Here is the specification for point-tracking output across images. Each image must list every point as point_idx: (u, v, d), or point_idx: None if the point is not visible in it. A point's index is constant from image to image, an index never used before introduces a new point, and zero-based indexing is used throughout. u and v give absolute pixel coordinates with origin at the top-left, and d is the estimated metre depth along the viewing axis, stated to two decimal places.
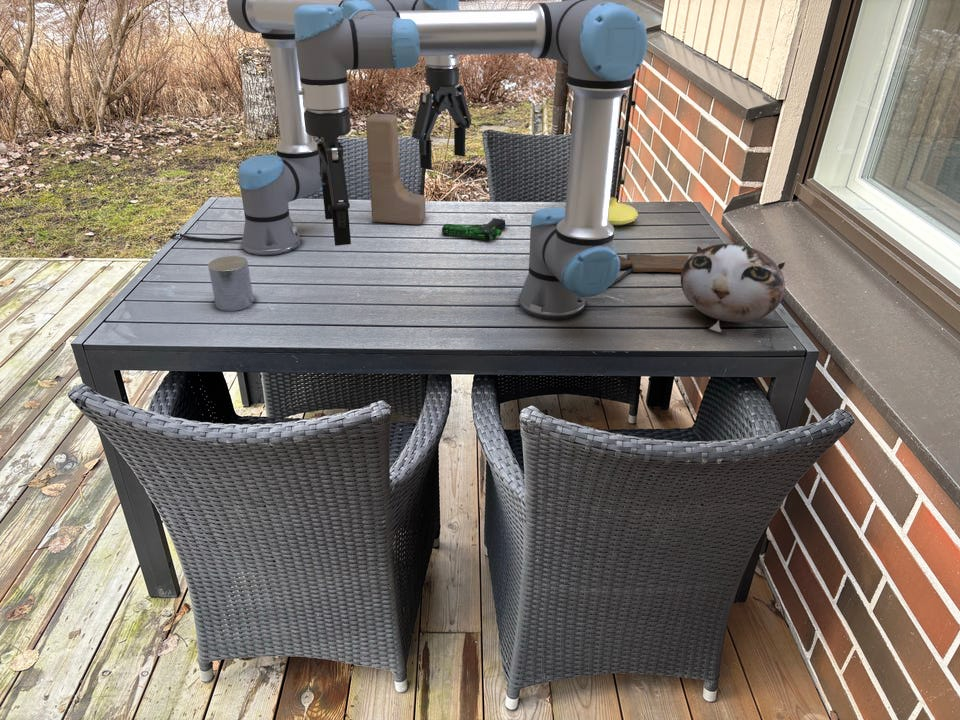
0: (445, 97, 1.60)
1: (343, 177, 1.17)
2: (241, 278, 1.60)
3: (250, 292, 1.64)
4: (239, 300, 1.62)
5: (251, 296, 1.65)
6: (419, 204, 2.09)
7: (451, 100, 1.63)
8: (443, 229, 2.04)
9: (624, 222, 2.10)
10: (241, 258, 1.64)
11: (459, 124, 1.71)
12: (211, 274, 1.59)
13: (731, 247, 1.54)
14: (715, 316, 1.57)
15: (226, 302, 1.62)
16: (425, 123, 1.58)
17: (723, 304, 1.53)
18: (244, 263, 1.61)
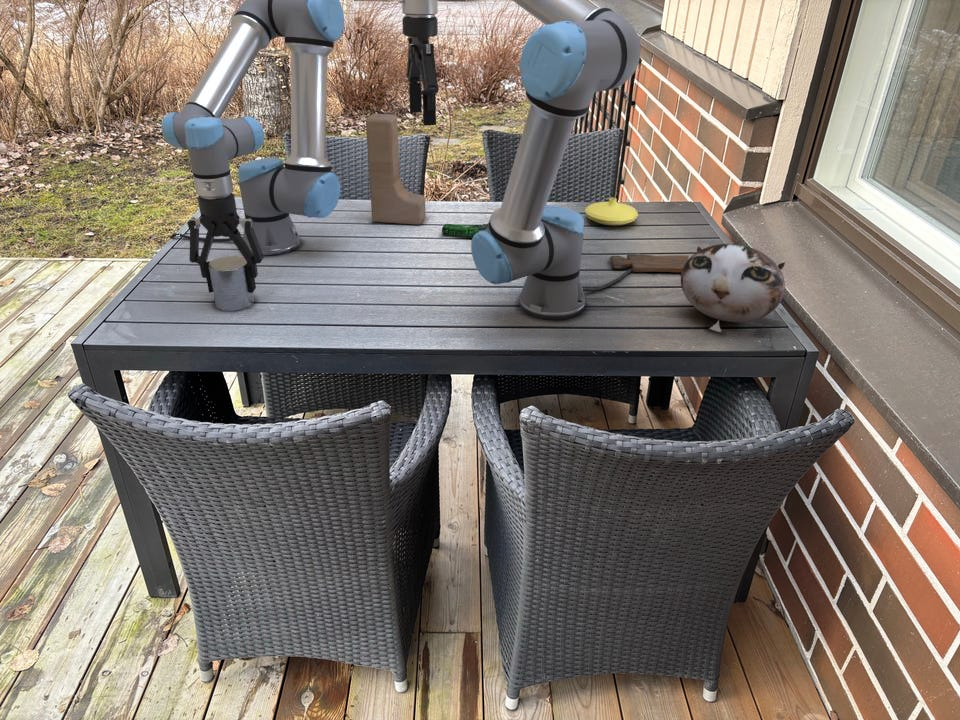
0: (210, 224, 1.55)
1: (434, 67, 1.51)
2: (241, 278, 1.60)
3: None
4: (239, 300, 1.62)
5: (251, 296, 1.65)
6: (419, 204, 2.09)
7: None
8: (443, 229, 2.04)
9: (624, 222, 2.10)
10: (241, 258, 1.64)
11: None
12: (211, 274, 1.59)
13: (731, 247, 1.54)
14: (715, 316, 1.57)
15: (226, 302, 1.62)
16: (192, 248, 1.58)
17: (723, 304, 1.53)
18: (244, 263, 1.61)
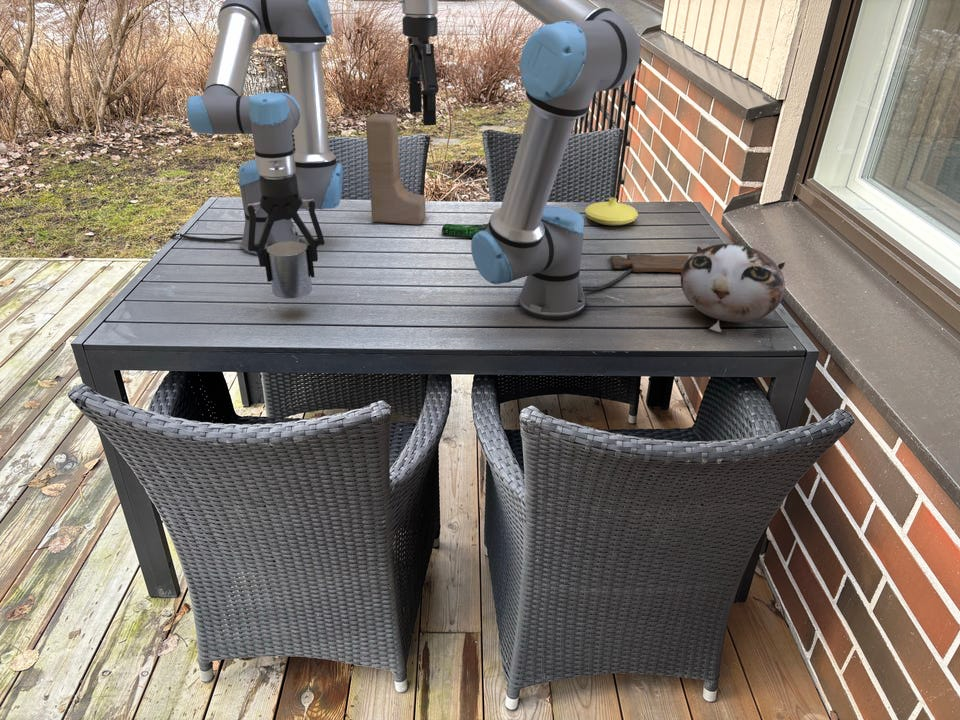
0: (274, 207, 1.47)
1: (434, 67, 1.51)
2: (305, 263, 1.54)
3: (310, 277, 1.58)
4: (303, 286, 1.55)
5: None
6: (419, 204, 2.09)
7: None
8: (443, 229, 2.04)
9: (624, 222, 2.10)
10: (297, 242, 1.56)
11: None
12: (274, 261, 1.51)
13: (731, 247, 1.54)
14: (715, 316, 1.57)
15: (291, 289, 1.54)
16: (251, 235, 1.49)
17: (723, 304, 1.53)
18: (304, 246, 1.54)
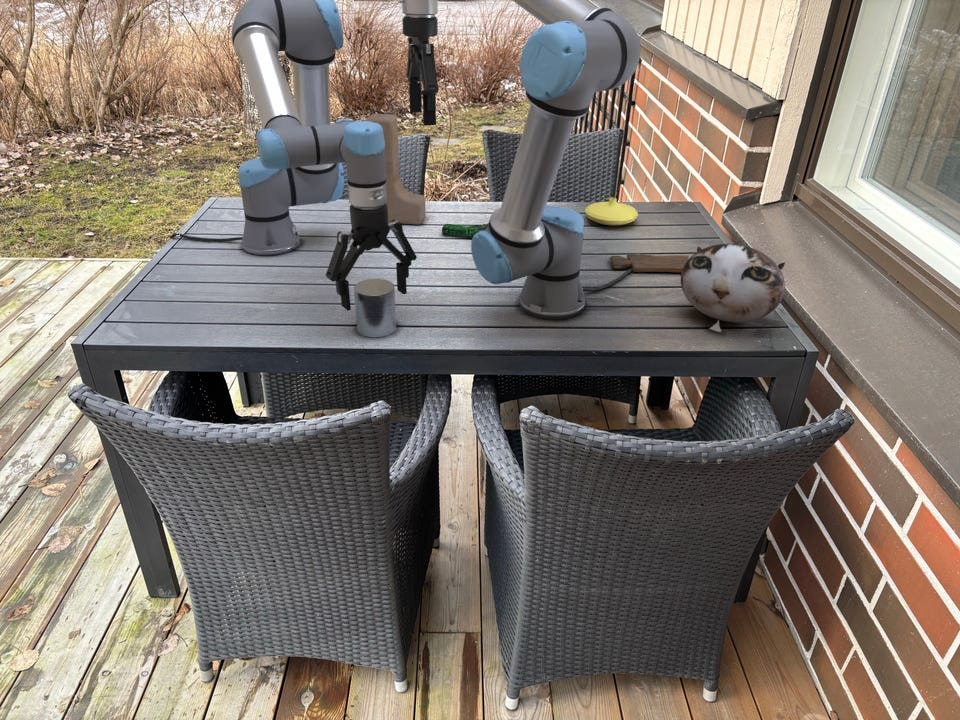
0: (368, 237, 1.43)
1: (434, 67, 1.51)
2: (394, 298, 1.53)
3: None
4: (393, 322, 1.54)
5: None
6: (419, 204, 2.09)
7: (379, 239, 1.46)
8: (443, 229, 2.04)
9: (624, 222, 2.10)
10: (377, 279, 1.55)
11: (401, 260, 1.53)
12: (368, 301, 1.49)
13: (731, 247, 1.54)
14: (715, 316, 1.57)
15: (384, 327, 1.52)
16: (338, 265, 1.43)
17: (723, 304, 1.53)
18: (389, 282, 1.53)
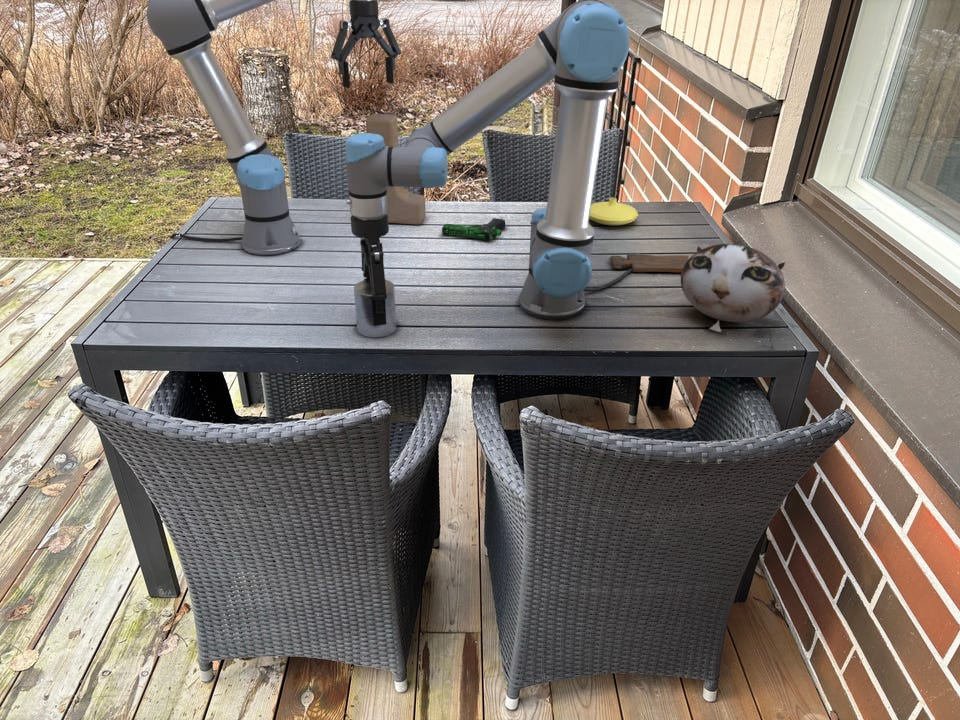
0: (363, 26, 1.88)
1: (383, 275, 1.43)
2: (394, 298, 1.53)
3: None
4: (393, 322, 1.54)
5: None
6: (419, 204, 2.09)
7: (372, 30, 1.91)
8: (443, 229, 2.04)
9: (624, 222, 2.10)
10: None
11: (389, 54, 1.98)
12: (368, 301, 1.49)
13: (731, 247, 1.54)
14: (715, 316, 1.57)
15: (384, 327, 1.52)
16: (340, 46, 1.88)
17: (723, 304, 1.53)
18: (389, 282, 1.53)
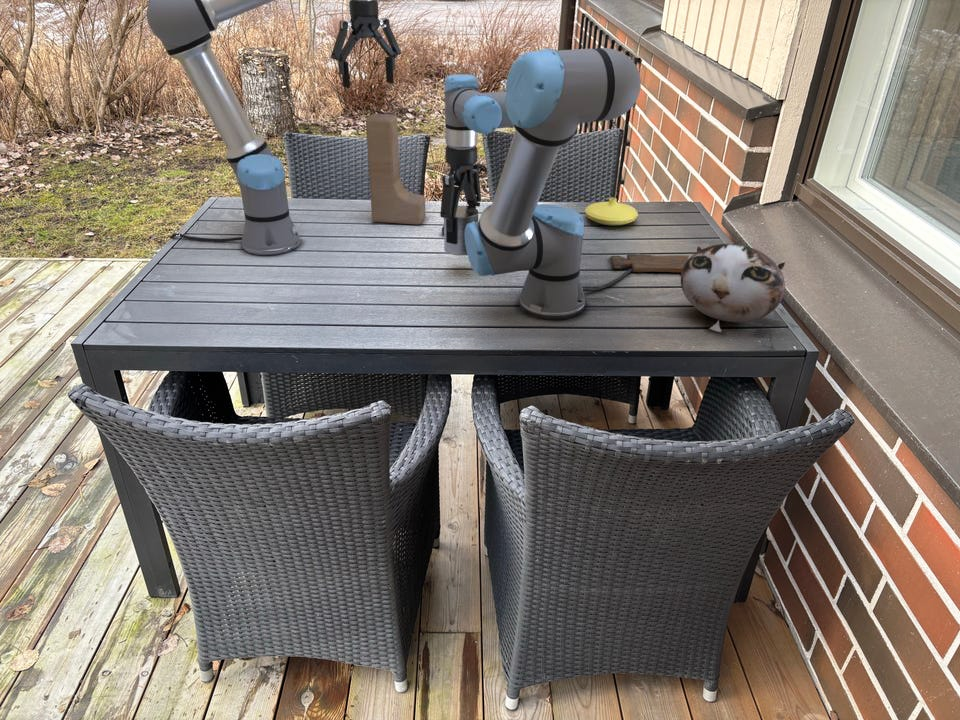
0: (363, 26, 1.88)
1: (449, 197, 1.67)
2: None
3: None
4: None
5: None
6: (419, 204, 2.09)
7: (372, 30, 1.91)
8: (443, 229, 2.04)
9: (624, 222, 2.10)
10: (472, 208, 1.78)
11: (389, 54, 1.98)
12: None
13: (731, 247, 1.54)
14: (715, 316, 1.57)
15: (456, 247, 1.76)
16: (340, 46, 1.88)
17: (723, 304, 1.53)
18: (476, 212, 1.75)
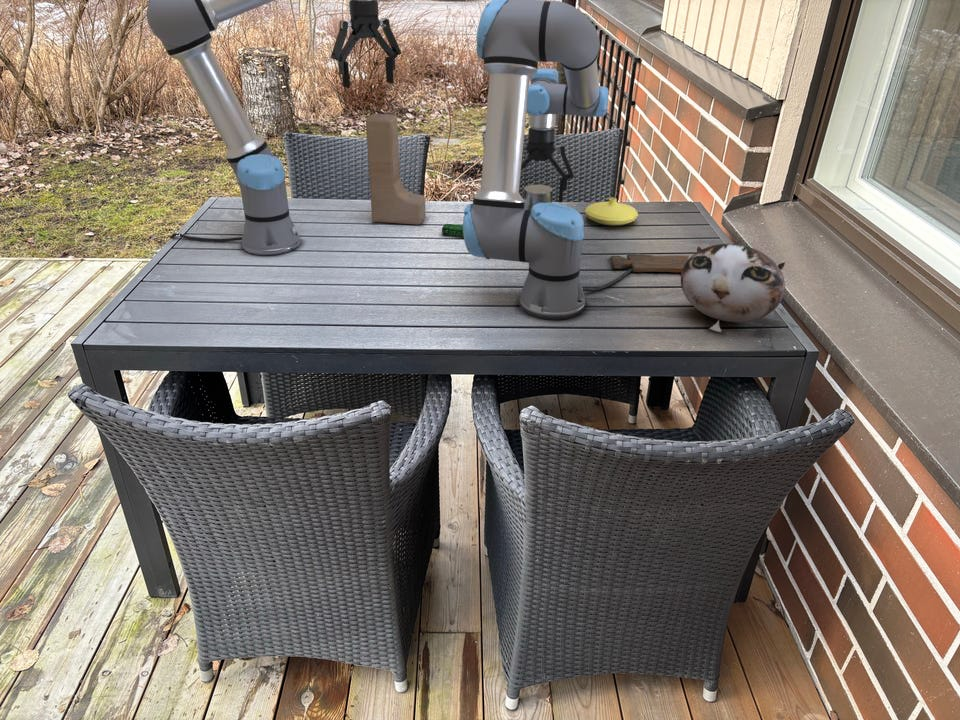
0: (363, 26, 1.88)
1: None
2: (534, 202, 2.10)
3: None
4: None
5: None
6: (419, 204, 2.09)
7: (372, 30, 1.91)
8: (443, 229, 2.04)
9: (624, 222, 2.10)
10: (549, 190, 2.11)
11: (389, 54, 1.98)
12: None
13: (731, 247, 1.54)
14: (715, 316, 1.57)
15: None
16: (340, 46, 1.88)
17: (723, 304, 1.53)
18: (542, 192, 2.09)
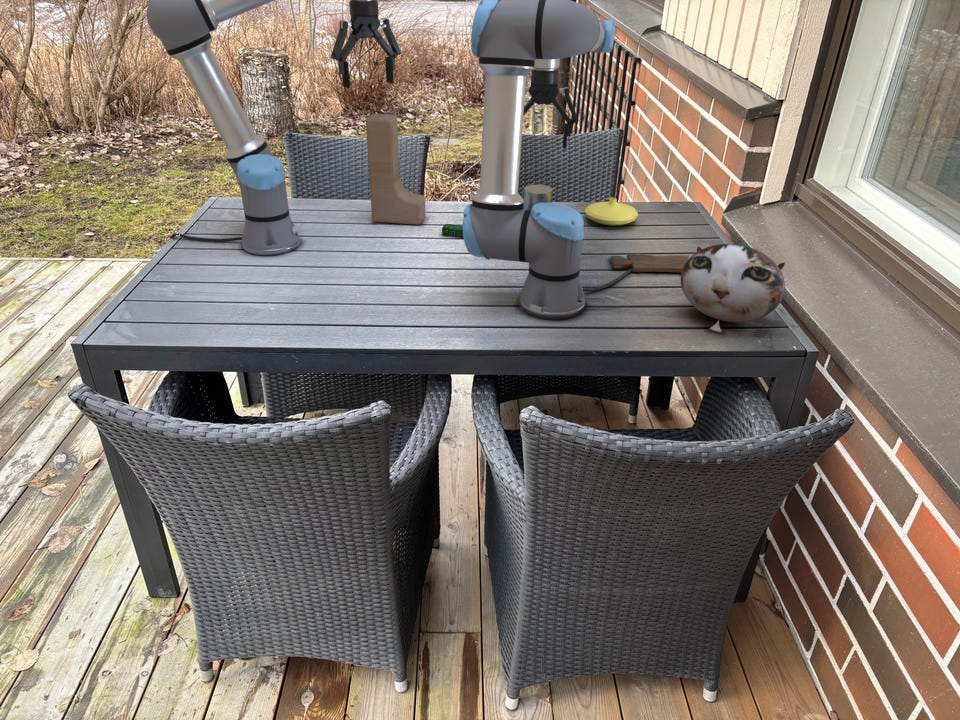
0: (363, 26, 1.88)
1: None
2: (534, 202, 2.10)
3: None
4: None
5: None
6: (419, 204, 2.09)
7: (372, 30, 1.91)
8: (443, 229, 2.04)
9: (624, 222, 2.10)
10: (549, 190, 2.11)
11: (389, 54, 1.98)
12: None
13: (731, 247, 1.54)
14: (715, 316, 1.57)
15: None
16: (340, 46, 1.88)
17: (723, 304, 1.53)
18: (542, 192, 2.09)
